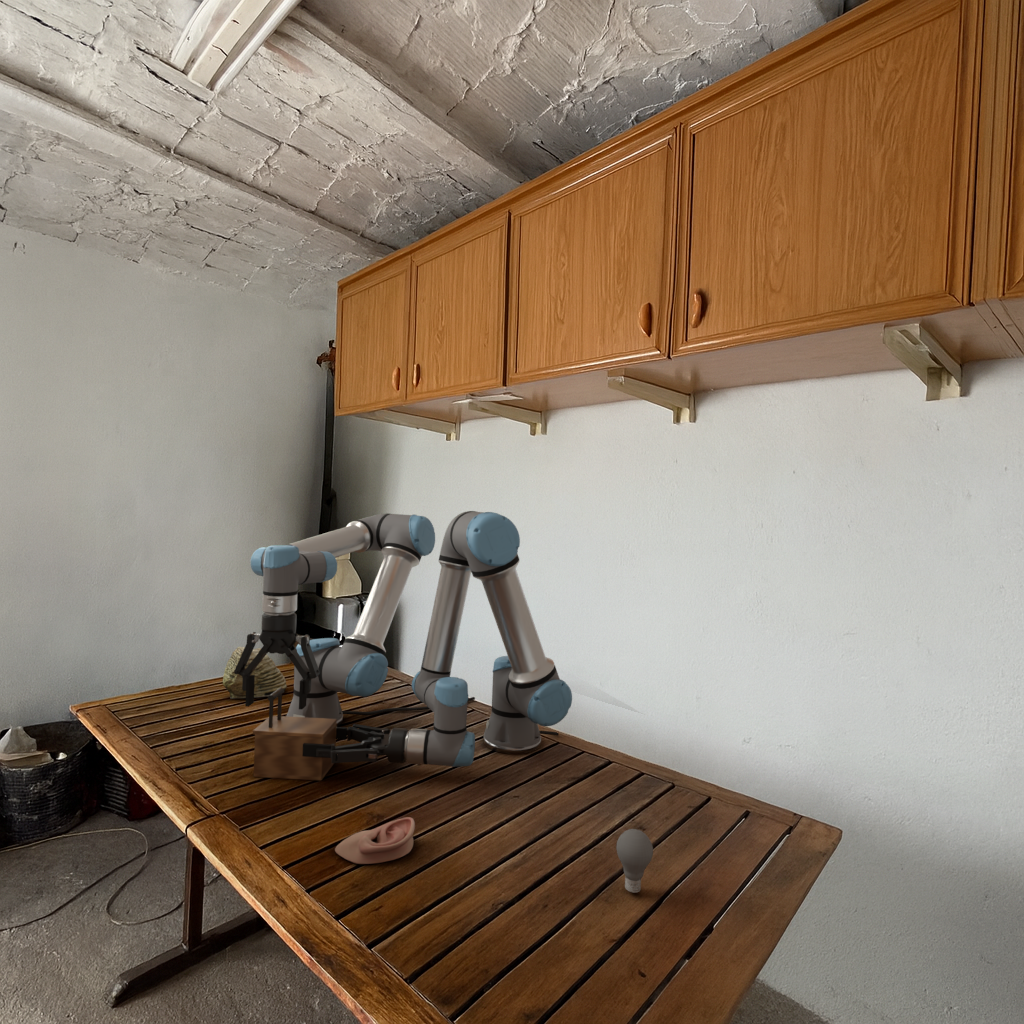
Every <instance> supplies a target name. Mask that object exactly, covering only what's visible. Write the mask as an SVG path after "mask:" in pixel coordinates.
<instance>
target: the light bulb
mask: <svg viewBox="0 0 1024 1024" xmlns="http://www.w3.org/2000/svg"><path fill="white" fill-rule="evenodd" d="M615 849H616V854H617V857H618V859H619V861H620V863H621V865H622V867H623V873H624V874H623V875H624V876H625V878H624V888H625V890H627V891H628V892H630V893H634V894H635V893H639V892H640V891H641V889H642V887H641V886H642V879H643V877H644V875H645V871H646V868H647V867H648V866H649V864H650V863H651V861H652V859H653V855H654V847H653V843H652V841H651V838H649V836H648V835H647V834H646V833H645V832H643V831H642V830H641V829H636V828H629V829H627V830H625V831H623V832H622V833H621V834H620V835H619V837H618V839H617V841H616V847H615Z"/></svg>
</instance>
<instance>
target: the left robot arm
mask: <svg viewBox="0 0 1024 1024" xmlns="http://www.w3.org/2000/svg"><path fill="white" fill-rule="evenodd" d="M435 544H436V532H435V528H434V525H433V523H432V521H431V520H430V519H429V518H428V517H426V516H424V515H417V514H402V513H401V514H399V513H387V512H386V513H378V514H374V515H370V516H366V517H363V518H359V519H356V520H352V521H350V522H348V523H347V525H346V526H344V527H341V528H338V529H334V530H331V531H328V532H325V533H322V534H318V535H314V536H311V537H307V538H304V539H300V540H298V541H294V542H291V543H288V544H279V545H278V544H273V545H269V546H267V547H266V546H265V547H264V546H263V547H258V548H257V549H256V550H255V551H254V552H253V553H252V555H251V557H250V568H251V570H252V572H253V574H255V575H256V576H260V577H263V579H262V605H261V607H262V608H261V611H263V614H262V615H261V633H257V632H256V631H252V632H250V633H248V634H247V635H246V644H245V646H244V647H245V648H244V650H243V653H242V655H241V657H240V659H239V662H238V664H237V666H236V668H235V671H234V673H235V674H239V675H241V676H242V678H243V682H242V689H243V691H246V698H245V701H244V702H245V703H244V704H245V706H244V707H247V708H248V707H250V706H252V705H253V704H254V702H255V697H254V682H255V675H251V674H252V672H253V671H254V669H255V668H256V667H257V666H258V664H259V663H260V662H261V660H262V659H263V658H264V657H265V655H266V654H267V655H268V653H269V654H279V655H285V656H286V657H287V658H289V660H290V661H291V663H292V664H293V695H292V696H293V697H292V699H291V702H290V704H289V708H288V711H287V713H286V715H285V716H288V717H307V718H326V719H337V722H336V723H337V725H336V727H340V725H342V723H343V722H344V715H354V716H355V715H356V716H372V715H378V714H384V713H389V712H415V711H416V712H417V711H429V710H430V709H429V708H428V707H427V706H413V707H391V708H383V709H378V710H373V711H372V710H371V711H357V710H343V709H342V706H341V702H340V699H339V695H338V693H342V694H347V695H350V696H352V697H361V698H362V697H365V698H367V697H370V696H372V695H373V694H376V693H377V692H378V691H379V690H380V689H381V687H382V686H383V685H384V683H385V681H386V679H387V677H388V673H389V667H388V666H389V662H388V659H387V657H386V654H387V650H386V648H385V646H384V643H385V640H386V638H387V636H388V632H389V630H390V627H391V625H392V621H393V619H394V616H395V614H396V611H397V608H398V606H399V603H400V600H401V599H402V596H403V593H404V590H405V587H406V585H407V581H408V579H409V576H410V574H411V572H412V568H414V567H417V566H419V564H420V562H421V560H422V557H426V556H429V555H430V554H431V553H432V552H433V550H434V549H435ZM368 551H371V552H373V551H376V552H381V554H382V556H383V560H382V562H381V564H380V566H379V569H378V571H377V574H376V576H375V579H374V581H373V584H372V587H371V589H370V592H369V594H368V597H367V598H366V602H365V604H364V607H363V609H362V612H361V614H360V616H359V619H358V621H357V624H356V626H355V628H354V631H353V634H350V635H348V636H346V637H345V639H344V641H343V643H342V645H341V646H340V644H341V643H340V640H339V639H338V638H335V637H324V638H323V637H322V638H313V639H311V637H310V635H309V634H305V635H298V634H297V615H298V614H297V613H296V611H297V610H298V591H299V590H298V589H299V586H300V585H307V584H316V583H317V584H318V583H319V584H320V583H323V582H328V581H331V580H332V579H333V578H334V577H335V576H336V574H337V572H338V561H337V559H336V558H339V557H341V556H345V555H348V554H350V553H354V552H355V553H358V554H359V553H365V552H368ZM259 641H260V642H261V644H262V647H261V650H260V651H259V653H258V654H257V655H256V657H255V658H254V659H253V660H252V662H251V663H250V664H249V666H248V667H247V668H246V669H245V666H246V664H247V662H248V660H249V658H250V655H251V653H252V651H253V649H255V647H256V644H257V643H258V642H259ZM296 643H298V644H297V645H295V644H296ZM475 700H476V697H475V696H471V697H468V702H471V701H475Z"/></svg>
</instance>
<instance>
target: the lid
mask: <svg viewBox="0 0 1024 1024" xmlns="http://www.w3.org/2000/svg"><path fill="white" fill-rule="evenodd" d="M284 693H285V691H284V689H283V688H281V687H280V688H279V689H277V690H276V691H274V692H273V693H272V694H270V695H269V696H267V700H268V703H269V705H268V718H266V719H265V720H264V721H263V722H261V723H260V724H259V725H258V726H257V727H256V728H254V729H253V730H252V735H255V734H259V735H278V736H296V737H315V738H323V737H324V736H325V735H326V734H327V733H328V731H329V730H330V729H331V728H332V727H333V726H334V725H335V724H336V722H337V719H326V718H307V717H288V716H286V715H285V716H284V715H282V712H283V711H282V709H283V694H284ZM276 699H277V715H274V700H276Z"/></svg>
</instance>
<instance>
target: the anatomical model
mask: <svg viewBox="0 0 1024 1024" xmlns="http://www.w3.org/2000/svg"><path fill="white" fill-rule="evenodd" d="M415 828H416V823H415V820H414V818H413V817H410V816H409V817H402V818H398V819H395V820H392V821H389V822H386V823H384V824H382V825H380V826H377V827H375V828H372V829H368V830H361V831H358V832H356V833H353V834H352V835H350V836H348V837H346V838H345V839H343V840H342V841H340V843H338V844H337V845H336V846H335V848H334V852H335V853H336V854H337V855H338V856H340V857H341V858H343V859H344V860H347V861H348V862H351V863H353V864H357V865H369V864H370V865H371V864H380V863H385V862H390V861H394V860H398V859H400V858H402V857H404V856H407V855H408V854H409V853H410V852H411V851H412V849H413V847H414V837H413V835H414V833H415Z"/></svg>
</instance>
